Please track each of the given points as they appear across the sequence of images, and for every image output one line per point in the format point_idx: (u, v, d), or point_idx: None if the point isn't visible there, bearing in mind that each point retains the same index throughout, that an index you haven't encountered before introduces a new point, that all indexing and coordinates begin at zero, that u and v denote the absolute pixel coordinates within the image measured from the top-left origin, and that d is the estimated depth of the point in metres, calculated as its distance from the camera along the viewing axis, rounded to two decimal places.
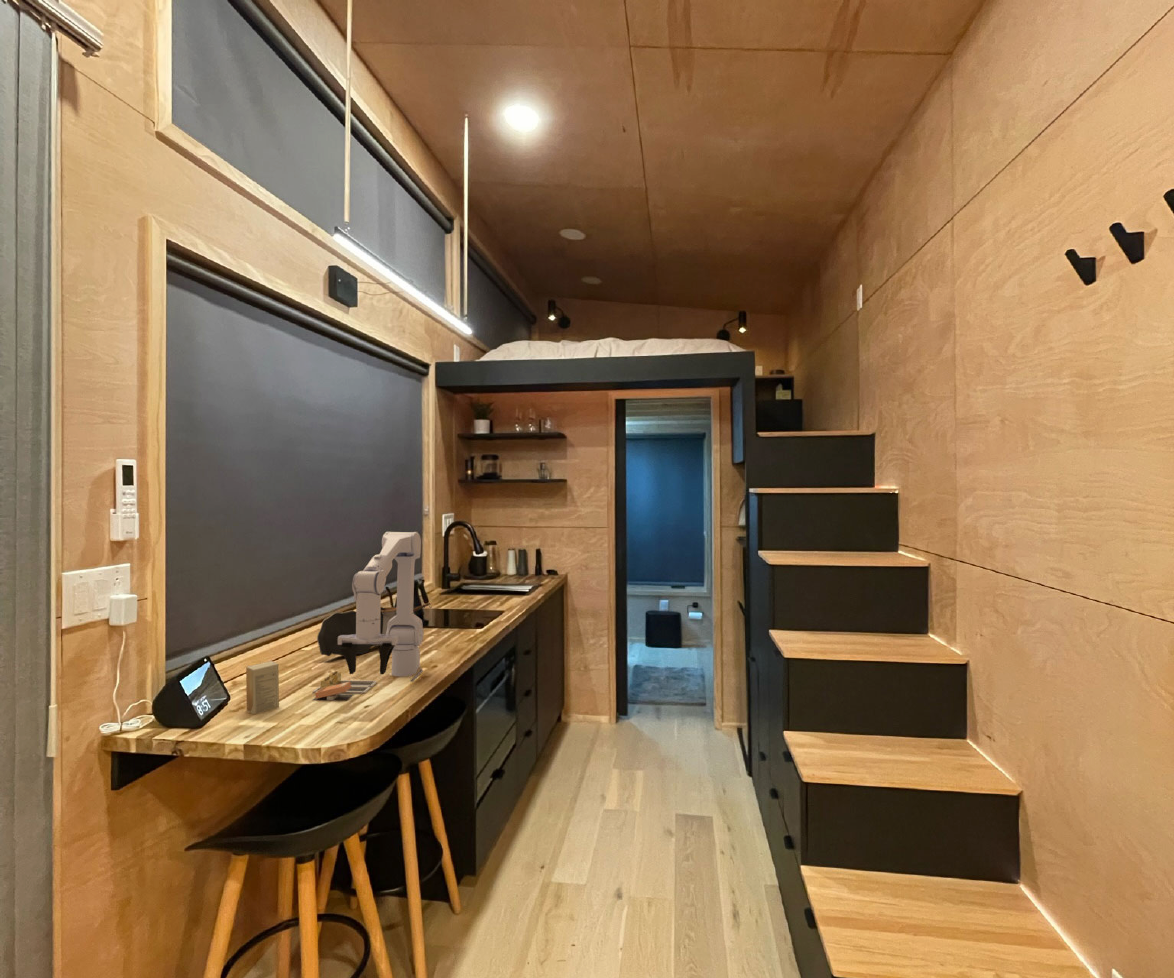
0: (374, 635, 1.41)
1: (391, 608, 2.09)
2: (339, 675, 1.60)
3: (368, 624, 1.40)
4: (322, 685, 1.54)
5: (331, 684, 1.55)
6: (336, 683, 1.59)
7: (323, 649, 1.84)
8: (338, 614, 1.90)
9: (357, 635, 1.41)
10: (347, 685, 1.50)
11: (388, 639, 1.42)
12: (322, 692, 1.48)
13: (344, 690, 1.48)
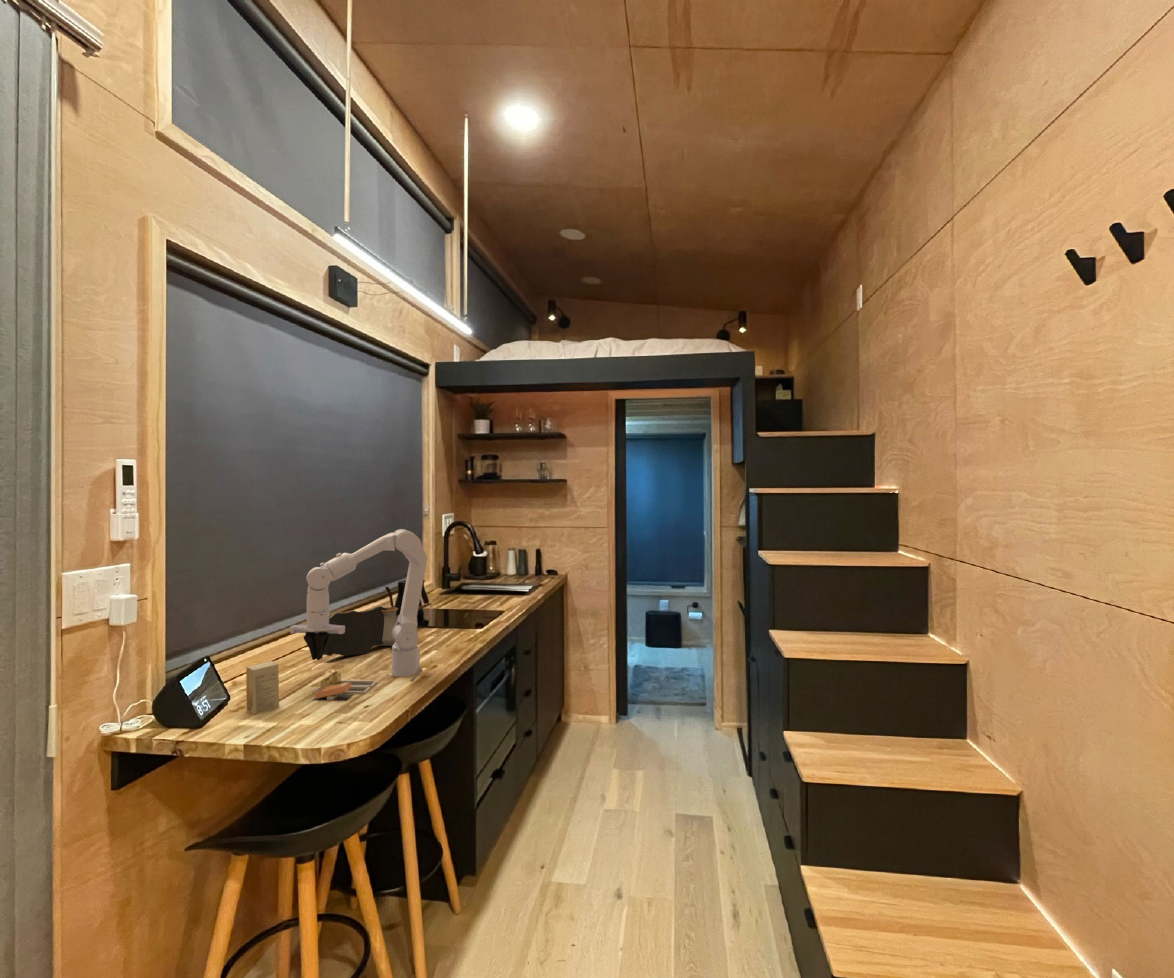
0: (322, 625, 1.58)
1: (392, 608, 2.09)
2: (339, 675, 1.60)
3: (317, 615, 1.57)
4: (322, 685, 1.54)
5: (331, 684, 1.55)
6: (336, 683, 1.59)
7: (325, 649, 1.84)
8: (339, 614, 1.90)
9: (307, 625, 1.58)
10: (347, 685, 1.50)
11: (335, 628, 1.59)
12: (322, 692, 1.48)
13: (344, 690, 1.48)
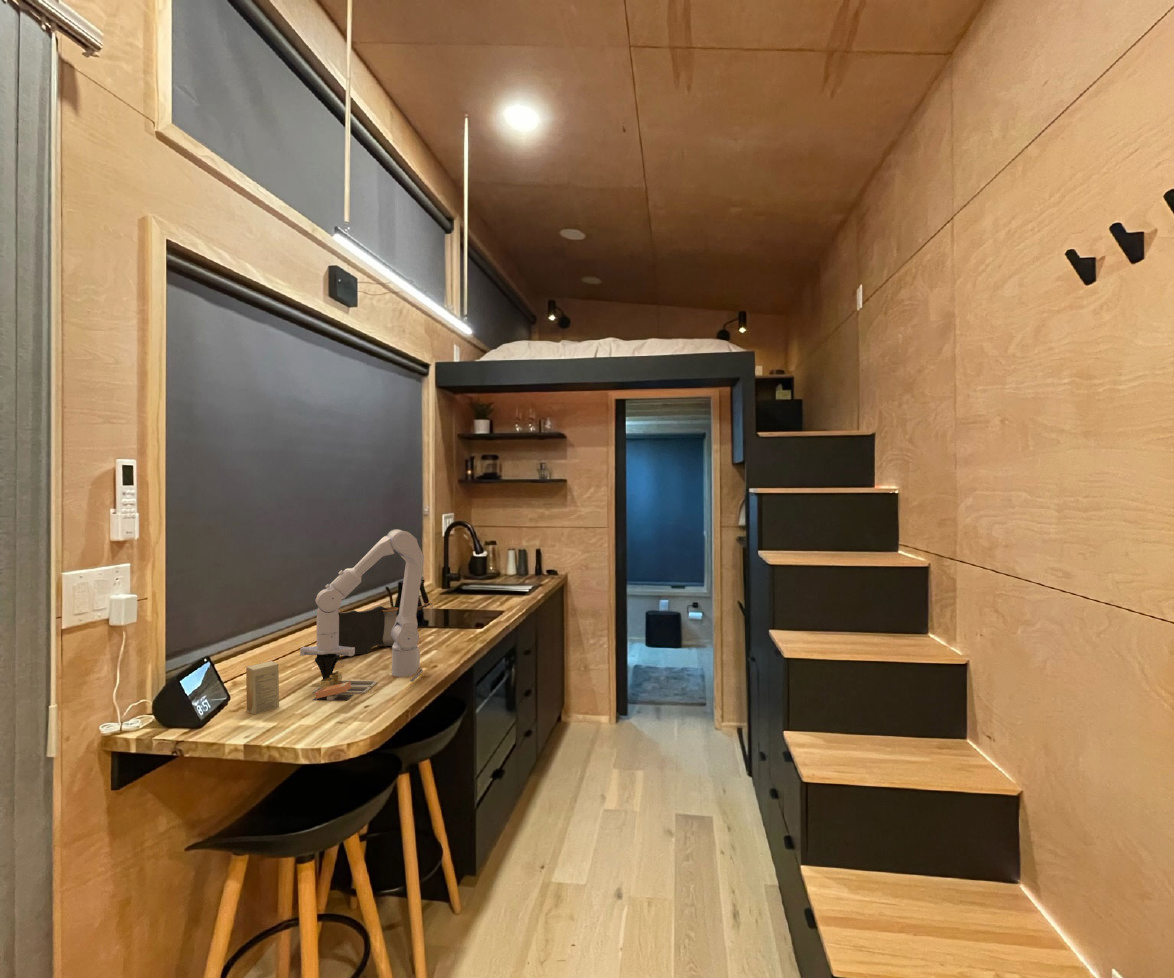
0: (332, 647, 1.58)
1: (392, 608, 2.09)
2: (340, 675, 1.60)
3: (327, 637, 1.57)
4: (322, 685, 1.54)
5: (331, 684, 1.55)
6: (337, 683, 1.59)
7: None
8: (339, 614, 1.90)
9: (317, 647, 1.58)
10: (347, 685, 1.50)
11: (345, 651, 1.59)
12: (322, 692, 1.48)
13: (344, 690, 1.48)
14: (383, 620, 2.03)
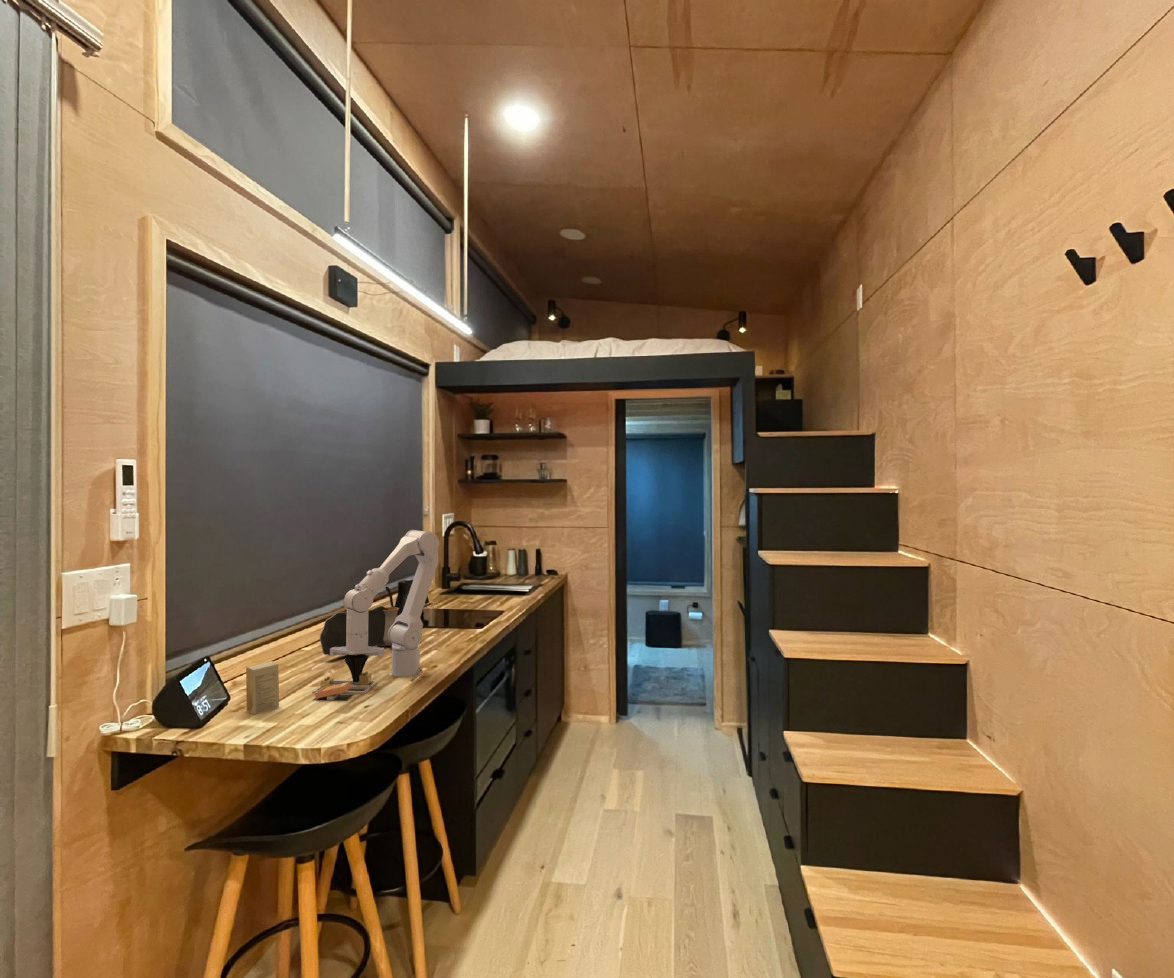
0: (362, 647, 1.58)
1: (393, 608, 2.10)
2: (369, 675, 1.60)
3: (357, 638, 1.57)
4: (322, 685, 1.54)
5: (331, 684, 1.55)
6: (367, 683, 1.59)
7: (326, 649, 1.84)
8: (340, 614, 1.90)
9: (347, 647, 1.58)
10: (347, 685, 1.50)
11: (375, 651, 1.59)
12: (322, 692, 1.48)
13: (344, 690, 1.48)
14: (384, 620, 2.04)
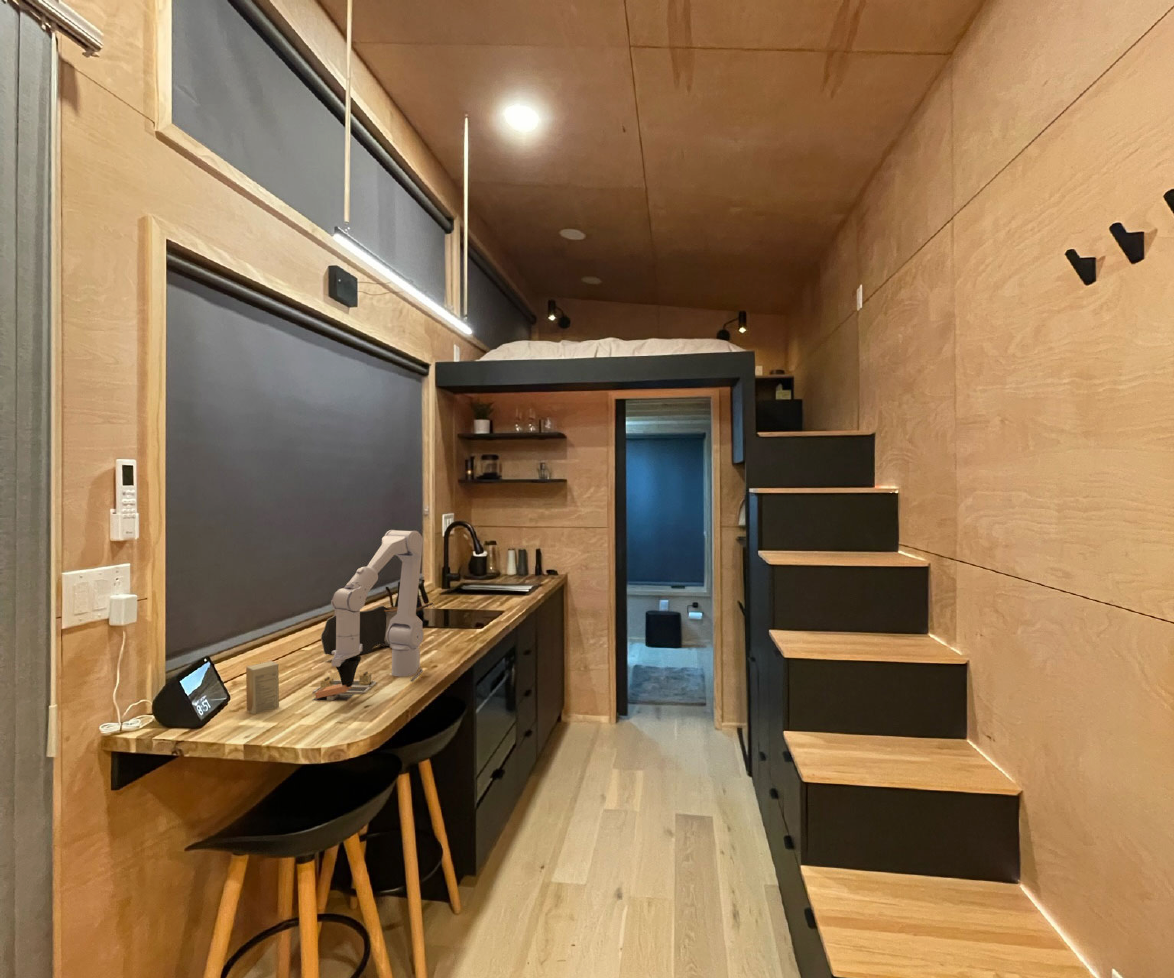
0: (337, 650, 1.48)
1: (394, 608, 2.10)
2: (370, 675, 1.60)
3: (336, 638, 1.49)
4: (322, 685, 1.54)
5: (331, 684, 1.55)
6: (367, 683, 1.59)
7: (327, 648, 1.85)
8: None
9: None
10: None
11: None
12: (322, 692, 1.48)
13: (344, 690, 1.48)
14: (385, 620, 2.04)
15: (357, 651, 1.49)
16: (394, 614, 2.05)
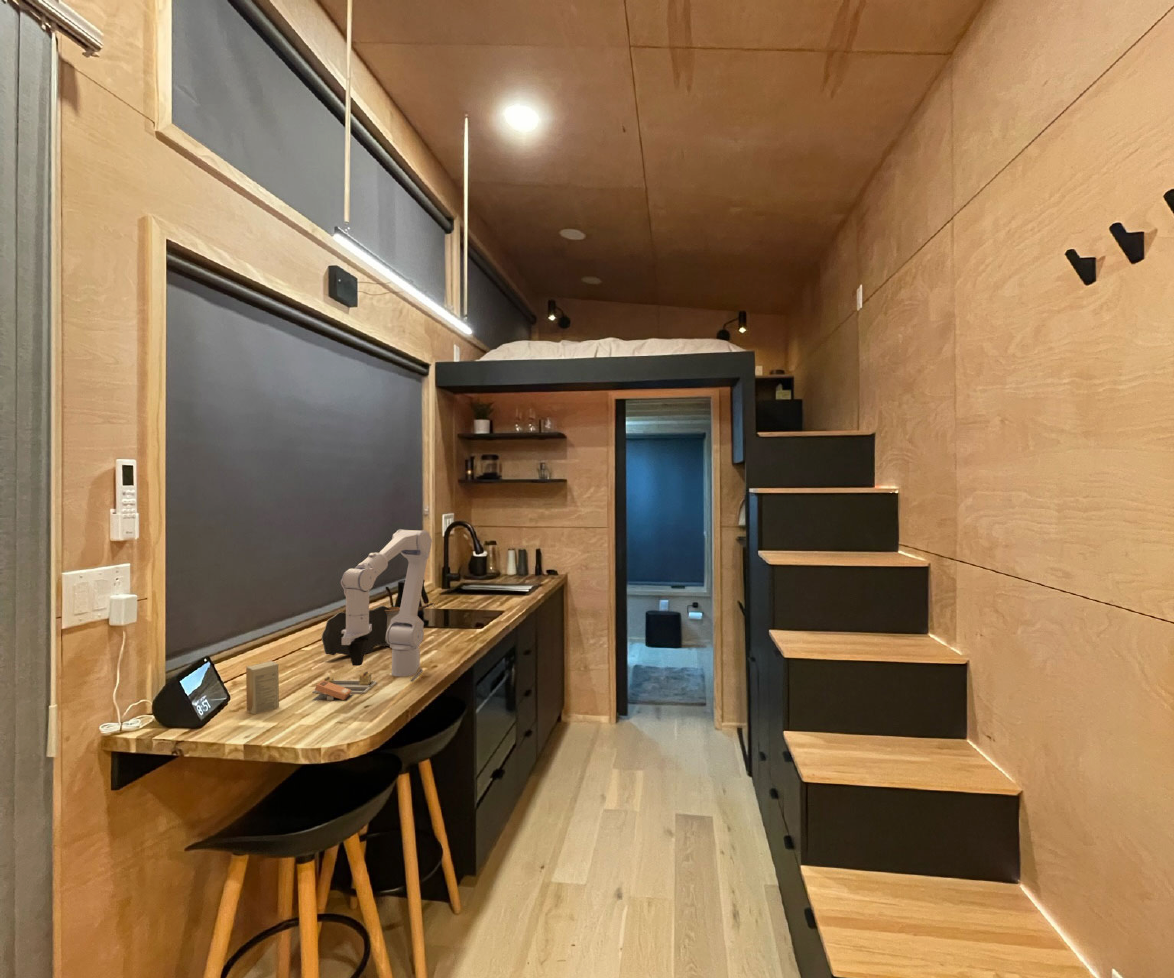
0: (347, 629, 1.49)
1: (395, 608, 2.10)
2: (370, 675, 1.60)
3: (346, 617, 1.50)
4: None
5: None
6: (367, 683, 1.59)
7: (328, 648, 1.85)
8: (342, 614, 1.91)
9: None
10: (347, 694, 1.50)
11: None
12: (323, 688, 1.48)
13: (343, 698, 1.48)
14: (385, 620, 2.04)
15: (367, 630, 1.51)
16: (395, 614, 2.06)
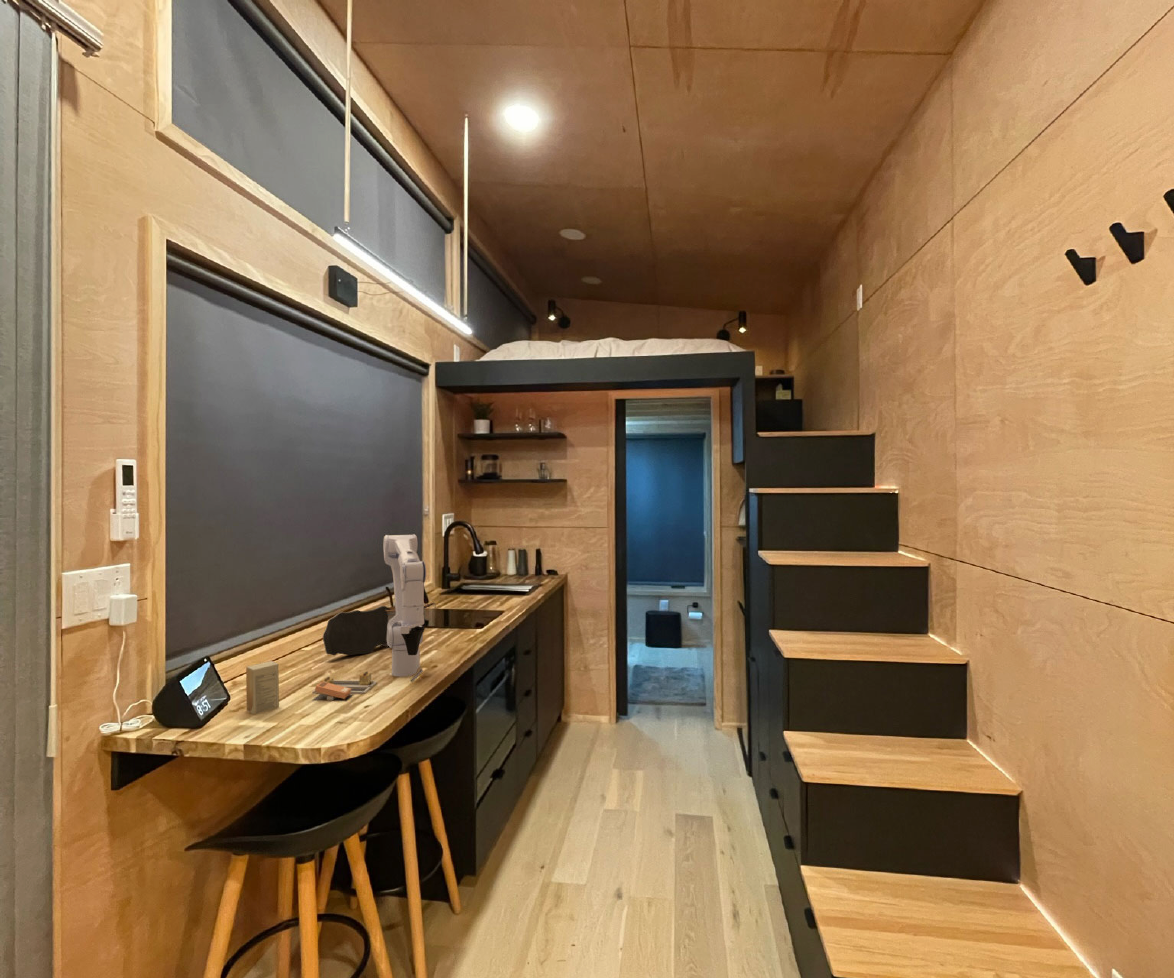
0: (404, 620, 1.56)
1: None
2: (370, 675, 1.60)
3: (402, 608, 1.57)
4: None
5: None
6: (367, 683, 1.59)
7: (329, 648, 1.85)
8: (343, 614, 1.91)
9: None
10: (348, 692, 1.50)
11: None
12: (323, 688, 1.48)
13: (343, 697, 1.48)
14: (386, 620, 2.04)
15: (422, 621, 1.58)
16: (395, 614, 2.06)
